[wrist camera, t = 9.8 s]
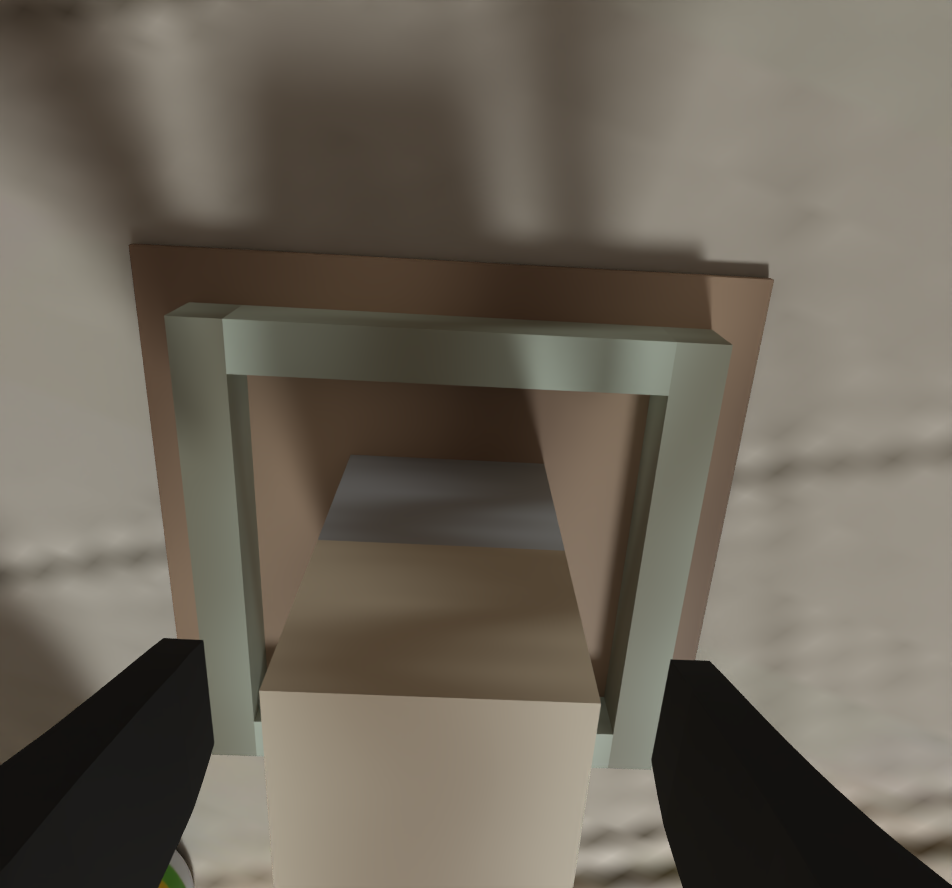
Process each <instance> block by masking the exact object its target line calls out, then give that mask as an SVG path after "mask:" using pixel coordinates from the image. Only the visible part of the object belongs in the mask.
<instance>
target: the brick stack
mask: <svg viewBox="0 0 952 888" xmlns="http://www.w3.org/2000/svg"><path fill="white" fill-rule="evenodd" d="M259 695H260V709H261V723H262V736H263V750H264V763H265V777H266V791H267V804H268V818H269V832H270V845H271V859H272V873H273V886H274V888H573V885H574V878H575V871H576V865H577V858H578V852H579V845H580V839H581V832H582V825H583V819H584V812H585V806H586V799H587V793H588V786H589V779H590V773H591V766H592V760H593V753H594V747H595V740H596V734H597V727H598V720H599V714H600V707H601V701H600V697H599V693H598V689H597V684H596V680H595V676H594V672H593V668H592V663H591V659H590V655H589V651H588V646H587V642H586V638H585V634H584V630H583V625H582V621H581V617H580V613H579V608H578V604H577V600H576V596H575V592H574V587H573V583H572V579H571V575H570V571H569V566H568V562H567V558H566V554H565V549H564V545H563V541H562V537H561V533H560V528H559V524H558V520H557V516H556V511H555V507H554V503H553V499H552V495H551V490H550V486H549V482H548V478H547V474H546V469H545V465H544V464H538V463H516V462H495V461H474V460H453V459H431V458H410V457H389V456H368V455H350V458H349V460H348V463H347V466H346V468H345V471H344V473H343V476H342V479H341V481H340V484H339V486H338V489H337V491H336V494H335V497H334V499H333V502H332V504H331V507H330V509H329V512H328V515H327V517H326V520H325V522H324V525H323V527H322V530H321V533H320V535H319V538H318V540H317V543H316V546H315V548H314V551H313V553H312V556H311V558H310V561H309V564H308V566H307V569H306V571H305V574H304V576H303V579H302V582H301V584H300V587H299V589H298V592H297V595H296V597H295V600H294V602H293V605H292V607H291V610H290V613H289V615H288V618H287V620H286V623H285V625H284V628H283V631H282V633H281V636H280V638H279V641H278V643H277V646H276V649H275V651H274V654H273V656H272V659H271V662H270V664H269V667H268V669H267V672H266V674H265V677H264V680H263V682H262V685H261V687H260V690H259Z"/></svg>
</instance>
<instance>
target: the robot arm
mask: <svg viewBox="0 0 952 888" xmlns="http://www.w3.org/2000/svg"><path fill="white" fill-rule="evenodd" d="M213 747H214V734H213V724H212V715H211V706H210V697H209V687H208V678H207V669H206V659H205V650H204V641H203V640H194V639H170V638H163V639H162V640H161V641H159V642H158V643H157V644H155V645H154V646H153V647H152V648H150V649H149V650H148V651H147V652H145V653H144V654H143V655H142V656H140V657H139V658H138V659H137V660H135V661H134V662H133V663H132V664H131V665H129V666H128V667H127V668H126V669H124V670H123V671H122V672H121V673H120V674H118V675H117V676H116V677H115V678H113V679H112V680H111V681H110V682H109V683H107V684H106V685H105V686H104V687H102V688H101V689H100V690H99V691H98V692H96V693H95V694H94V695H92V696H91V697H90V698H89V699H87V700H86V701H85V702H84V703H82V704H81V705H80V706H79V707H77V708H76V709H75V710H74V711H72V712H71V713H70V714H69V715H67V716H66V717H65V718H63V719H62V720H61V721H60V722H58V723H57V724H56V725H55V726H53V727H52V728H51V729H49V730H48V731H47V732H46V733H44V734H43V735H41V736H40V737H39V738H37V739H36V740H35V741H33V742H32V743H30V744H29V745H28V746H26V747H25V748H24V749H22V750H21V751H20V752H18V753H17V754H15V755H14V756H13V757H11V758H10V759H9V760H7V761H6V762H4V763H3V764H2V765H0V888H158V887H159V885H160V883H161V881H162V878H163V876H164V874H165V872H166V870H167V868H168V865H169V863H170V861H171V859H172V856H173V854H174V852H175V850H176V848H177V845H178V843H179V841H180V839H181V836H182V834H183V832H184V830H185V828H186V825H187V823H188V821H189V818H190V816H191V814H192V812H193V809H194V806H195V803H196V800H197V797H198V794H199V791H200V788H201V785H202V782H203V779H204V776H205V773H206V769H207V766H208V763H209V760H210V756H211V753H212V750H213ZM651 762H652V767H653V773H654V778H655V784H656V789H657V795H658V800H659V805H660V810H661V815H662V819H663V824H664V828H665V831H666V835H667V838H668V841H669V845H670V848H671V851H672V854H673V857H674V861H675V864H676V867H677V870H678V874H679V877H680V880H681V883H682V886H683V888H952V885H951V884H949V883H948V882H947V881H945V880H944V879H943V878H942V877H940V876H939V875H938V874H937V873H935V872H934V871H933V870H932V869H930V868H929V867H928V866H927V865H925V864H924V863H923V862H922V861H920V860H919V859H918V858H917V857H915V856H914V855H913V854H912V853H910V852H909V851H908V850H906V849H905V848H904V847H903V846H901V845H900V844H899V843H898V842H897V841H895V840H894V839H893V838H892V837H891V836H889V835H888V834H887V833H886V832H885V831H883V830H882V829H881V828H880V827H879V826H878V825H876V824H875V823H874V822H873V821H872V820H871V819H870V818H868V817H867V816H866V815H865V814H864V813H863V812H862V811H861V810H860V809H858V808H857V807H856V806H855V805H854V804H853V803H852V802H851V801H850V800H848V799H847V798H846V797H845V796H844V795H843V794H842V793H841V792H840V791H838V790H837V789H836V788H835V787H834V786H833V785H832V784H831V783H830V782H829V781H828V780H827V779H826V778H824V777H823V776H822V775H821V774H820V773H819V772H818V771H817V770H816V769H815V768H814V767H813V766H812V765H811V764H810V763H809V762H808V761H807V760H806V759H805V758H804V757H803V756H802V755H801V754H800V753H799V752H798V751H797V750H796V749H795V748H794V747H793V746H792V745H790V744H789V743H788V742H787V741H786V740H785V739H784V737H783V736H782V735H781V734H780V733H779V732H778V731H777V730H776V729H775V728H774V727H773V726H772V725H771V724H770V723H769V722H768V721H767V720H766V719H765V718H764V717H763V716H762V715H761V714H760V713H759V712H758V711H757V710H756V709H755V708H754V707H753V706H752V705H751V704H750V702H749V701H748V700H747V699H746V698H745V697H744V696H743V695H742V694H741V693H740V692H739V691H738V690H737V689H736V688H735V687H734V686H733V685H732V684H731V682H730V681H729V680H728V679H727V678H726V677H725V676H724V675H723V674H722V673H721V672H720V671H719V670H718V669H717V668H716V667H715V666H714V665H713V664H712V663H711V662H710V661H699V660H675V659H670V664H669V670H668V675H667V680H666V685H665V690H664V696H663V701H662V706H661V711H660V716H659V722H658V727H657V732H656V737H655V742H654V748H653V753H652V758H651Z"/></svg>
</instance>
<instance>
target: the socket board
mask: <svg viewBox="0 0 952 888" xmlns="http://www.w3.org/2000/svg"><path fill="white" fill-rule="evenodd" d="M129 252H130V260H131V268H132V276H133V284H134V292H135V300H136V308H137V316H138V324H139V332H140V341H141V349H142V357H143V365H144V373H145V381H146V389H147V397H148V405H149V413H150V421H151V430H152V438H153V446H154V454H155V462H156V470H157V478H158V486H159V494H160V502H161V511H162V519H163V527H164V535H165V543H166V551H167V559H168V567H169V575H170V583H171V591H172V600H173V608H174V616H175V624H176V632H177V639H194V640H203V641H204V650H205V659H206V669H207V678H208V687H209V697H210V706H211V715H212V724H213V734H214V747H213V750H212V755H240V756H264V750H263V736H262V723H261V709H260V695H259V690H260V687H261V685H262V682H263V680H264V677H265V674H266V672H267V669H268V667H269V664H270V662H271V659H272V656H273V654H274V651H275V649H276V646H277V643H278V641H279V638H280V636H281V633H282V631H283V628H284V625H285V623H286V620H287V618H288V615H289V613H290V610H291V607H292V605H293V602H294V600H295V597H296V595H297V592H298V589H299V587H300V584H301V582H302V579H303V576H304V574H305V571H306V569H307V566H308V564H309V561H310V558H311V556H312V553H313V551H314V548H315V546H316V543H317V540H318V538H319V535H320V533H321V530H322V527H323V525H324V522H325V520H326V517H327V515H328V512H329V509H330V507H331V504H332V502H333V499H334V497H335V494H336V491H337V489H338V486H339V484H340V481H341V479H342V476H343V473H344V471H345V468H346V466H347V463H348V460H349V458H350V455H368V456H389V457H410V458H431V459H453V460H474V461H495V462H516V463H538V464H544V465H545V469H546V474H547V478H548V482H549V486H550V490H551V495H552V499H553V503H554V507H555V511H556V516H557V520H558V524H559V528H560V533H561V537H562V541H563V545H564V549H565V554H566V558H567V562H568V566H569V571H570V575H571V579H572V583H573V587H574V592H575V596H576V600H577V604H578V608H579V613H580V617H581V621H582V625H583V630H584V634H585V638H586V642H587V646H588V651H589V655H590V659H591V663H592V668H593V672H594V676H595V680H596V684H597V689H598V693H599V697H600V701H601V707H600V714H599V720H598V727H597V734H596V740H595V747H594V753H593V760H592V766H591V768H615V769H644V770H651V767H652V762H651V758H652V753H653V748H654V742H655V737H656V732H657V727H658V722H659V716H660V711H661V706H662V701H663V696H664V690H665V685H666V680H667V675H668V670H669V664H670V659H675V660H695V658H696V653H697V648H698V643H699V638H700V634H701V629H702V624H703V619H704V614H705V610H706V605H707V600H708V595H709V590H710V585H711V581H712V576H713V571H714V566H715V561H716V557H717V552H718V547H719V542H720V537H721V533H722V528H723V523H724V518H725V513H726V508H727V504H728V499H729V494H730V489H731V484H732V480H733V475H734V470H735V465H736V460H737V455H738V451H739V446H740V441H741V436H742V431H743V427H744V422H745V417H746V412H747V407H748V403H749V398H750V393H751V388H752V383H753V378H754V374H755V369H756V364H757V359H758V354H759V350H760V345H761V340H762V335H763V330H764V325H765V321H766V316H767V311H768V306H769V301H770V297H771V292H772V287H773V282H774V280H773V279H771V278H758V277H739V276H721V275H703V274H684V273H666V272H647V271H629V270H610V269H592V268H574V267H555V266H537V265H518V264H500V263H481V262H463V261H445V260H426V259H408V258H389V257H371V256H352V255H334V254H316V253H297V252H279V251H260V250H242V249H223V248H205V247H187V246H168V245H150V244H130V245H129Z"/></svg>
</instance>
